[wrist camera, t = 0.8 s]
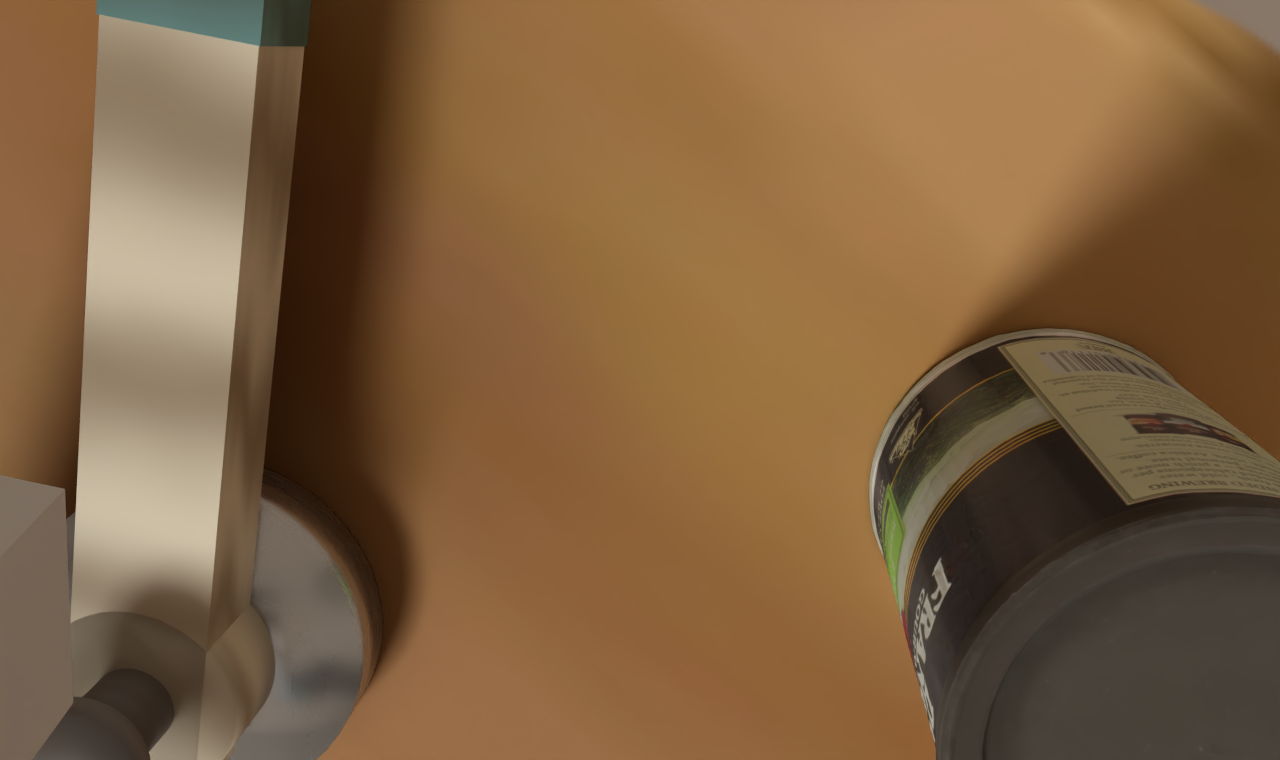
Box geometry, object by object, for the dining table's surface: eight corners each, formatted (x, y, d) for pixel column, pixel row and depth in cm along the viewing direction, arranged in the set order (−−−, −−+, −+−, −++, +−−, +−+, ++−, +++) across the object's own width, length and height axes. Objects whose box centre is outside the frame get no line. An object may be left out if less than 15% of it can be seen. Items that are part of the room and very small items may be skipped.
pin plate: (362, 780, 41) (339, 824, 38) (61, 714, 41) (20, 754, 39) (401, 494, 37) (379, 523, 35) (74, 425, 38) (31, 449, 36)
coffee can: (911, 671, 38) (1002, 1020, 24) (831, 376, 35) (883, 580, 22) (1240, 600, 36) (1537, 931, 22) (1181, 285, 33) (1473, 443, 20)
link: (268, 751, 37) (172, 892, 31) (89, 712, 37) (-43, 844, 31) (356, -65, 30) (254, -95, 24) (133, -108, 30) (-26, -149, 24)
